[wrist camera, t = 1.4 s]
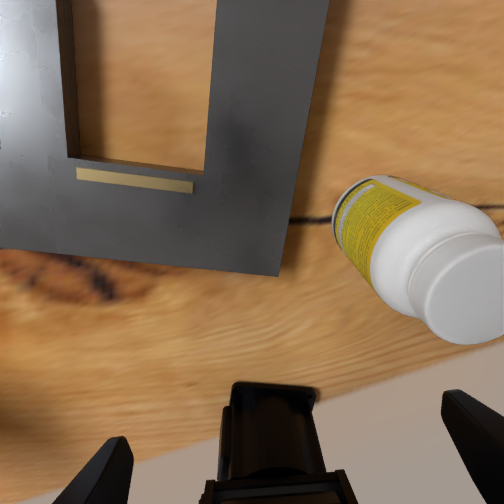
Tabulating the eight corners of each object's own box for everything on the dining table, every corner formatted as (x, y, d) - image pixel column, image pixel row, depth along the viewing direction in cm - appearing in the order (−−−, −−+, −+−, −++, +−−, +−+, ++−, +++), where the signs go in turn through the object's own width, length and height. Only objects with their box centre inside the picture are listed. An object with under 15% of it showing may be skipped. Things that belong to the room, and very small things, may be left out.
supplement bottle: (329, 261, 21) (397, 367, 12) (329, 178, 19) (412, 230, 10) (411, 253, 21) (541, 353, 12) (421, 169, 19) (586, 213, 10)
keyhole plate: (378, -307, 12) (398, -370, 11) (275, 266, 21) (278, 278, 19) (-110, -438, 11) (-170, -534, 9) (1, 236, 20) (-20, 246, 18)
